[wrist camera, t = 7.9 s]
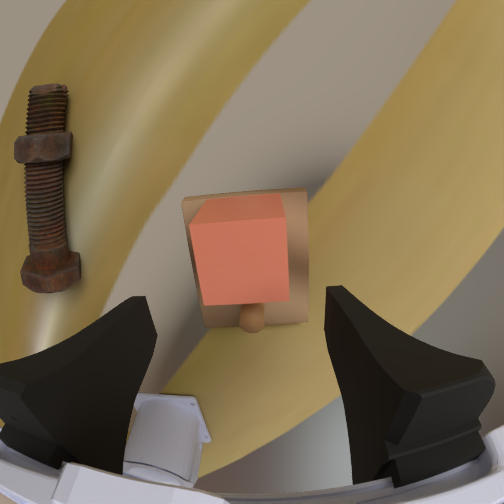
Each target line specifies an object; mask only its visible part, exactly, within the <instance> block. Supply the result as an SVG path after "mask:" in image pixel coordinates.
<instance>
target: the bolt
mask: <svg viewBox="0 0 504 504" xmlns="http://www.w3.org/2000/svg"><path fill="white" fill-rule="evenodd" d="M67 92H68V90H67V86H66V85H60V84H46V85H38V86H34V87H33V88H32V89H31V90H30V91H29V93H31V94H29V95H28V97H29V99H28V101H29V102H30V103H28V104H27V105H28V106H29V108H27V110H28V111H29V112H28V113H26V114H27V115H28V117H27V118H26V119H27V120H28V121H27V122H26V124H27V125H28V126H26V127H25V128H26V129H27V131H26V132H25V133H26V134H27V135H25V136H19V137H18V138H17V139H16V141H15V143H14V159H15V160H16V161H17V162H18V163H25V164H24V165H25V166H26V167H25V170H26V172H25V173H24V174H25V175H27V176H26V177H25V178H24V179H26V181H25V182H24V183H25V184H27V185H26V186H25V188H26V189H27V190H26V191H25V193H27V194H26V195H25V197H26V198H27V199H26V200H25V201H26V202H27V204H26V207H27V208H26V211H28V212H27V216H28V217H27V220H28V221H27V224H28V232H29V242H30V243H29V249H30V255H29V256H27V257H26V259H25V261H24V264H23V266H22V269H21V271H20V273H21V278H22V283H23V285H24V286H26V287H27V288H28V289H30V290H32V291H34V292H36V293H54V292H61V291H64V290H66V289H69V288H70V287H72V286H73V285H74V284H76V283H77V282H78V281H79V280H80V278H81V264H80V254H79V253H78V252H72V251H69V250H68V241H67V238H66V234H65V233H66V231H65V222H64V221H65V218H64V216H65V215H64V214H63V213H64V210H63V209H64V206H63V204H64V201H62V200H63V199H64V197H63V195H64V193H63V192H62V191H63V190H64V189H63V188H62V187H63V183H62V182H63V179H62V177H63V175H62V173H63V170H61V169H62V168H63V166H62V164H63V163H64V162H62V161H61V160H62V159H66V158H69V157H70V156H71V153H72V138H73V135H72V132H64V130H63V128H64V127H65V126H64V125H63V124H64V123H65V121H63V120H64V119H65V117H64V115H65V114H66V113H65V112H64V111H65V110H66V108H65V106H66V105H67V104H66V103H65V102H66V101H67V100H68V99H66V97H67V96H68V95H67V94H66V93H67Z"/></svg>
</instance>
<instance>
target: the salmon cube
mask: <svg viewBox="0 0 504 504" xmlns="http://www.w3.org/2000/svg"><path fill="white" fill-rule="evenodd" d="M189 228H190V234H191V240H192V245H193V251H194V257H195V262H196V267H197V273H198V278H199V283H200V288H201V293H202V298H203V303H204V306H207V305H230V304H250V303H267V302H282V301H290V298H289V271H288V249H287V229H286V216H285V212H284V207H283V203H282V199H281V195H280V193H276V194H262V195H249V196H237V197H226V198H215V199H207V200H206V201H205V203H204V204H203V206H202V207H201V208H200V210H199V211H198V213H197V214H196V216H195V217H194V218H193V220H192V221H191V223H190V224H189Z"/></svg>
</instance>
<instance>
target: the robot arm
mask: <svg viewBox="0 0 504 504" xmlns="http://www.w3.org/2000/svg"><path fill="white" fill-rule="evenodd" d="M324 331H325V337H326V343H327V348H328V352H329V356H330V359H331V362H332V365H333V369H334V372H335V375H336V378H337V382H338V385H339V388H340V391H341V395H342V399H343V403H344V409H345V416H346V422H347V428H348V437H349V445H350V454H351V465H352V480H353V485H350V486H344V487H338V488H331V489H323V490H315V491H305V492H293V493H274V494H231V493H212V492H206V491H203V490H200V489H194V488H193V486H194V484H195V483H196V481H197V478H198V472H199V466H200V460H201V454H202V447H203V442H211V436H210V434H209V431H208V429H207V426H206V423H205V421H204V418H203V415H202V413H201V410H200V407H199V404H198V402H197V399H196V398H195V397H193V396H177V395H162V394H150V393H140V392H138V391H139V388H140V386H141V383H142V381H143V379H144V376H145V373H146V371H147V368H148V366H149V363H150V361H151V358H152V356H153V352H154V348H155V344H156V339H157V333H156V329H155V326H154V324H153V320H152V317H151V314H150V310H149V307H148V304H147V300H146V297H145V296H133V297H130V298H128V299H127V300H125V301H124V302H122V303H121V304H119V305H118V306H116V307H115V308H113V309H112V310H111V311H109V312H108V313H106V314H105V315H104V316H102V317H101V318H99V319H98V320H96V321H95V322H93V323H92V324H90V325H89V326H87V327H86V328H84V329H83V330H81V331H80V332H78V333H77V334H75V335H73V336H72V337H70V338H68V339H66V340H64V341H62V342H61V343H59V344H57V345H54V346H52V347H50V348H48V349H45V350H43V351H41V352H38V353H36V354H33V355H30V356H27V357H24V358H21V359H18V360H14V361H10V362H5V363H1V364H0V418H1V419H2V420H3V422H4V423H5V425H4V426H3V428H1V427H0V492H1V493H3V494H4V495H5V496H7V497H9V498H10V499H12V500H13V501H15V502H17V503H18V504H503V503H504V425H502V426H500V427H498V428H496V429H494V430H492V431H490V432H489V433H487V434H486V435H484V436H483V437H482V438H481V436H480V434H479V432H478V431H479V430H480V429H481V424H480V421H479V419H478V417H479V416H480V414H481V413H482V411H483V410H484V408H485V407H486V405H487V404H488V402H489V401H490V399H491V397H492V395H493V393H494V388H495V380H494V378H493V376H492V375H491V373H490V372H489V370H488V369H487V368H486V366H485V364H484V363H483V362H482V360H478V359H474V358H470V357H465V356H461V355H457V354H454V353H450V352H448V351H445V350H442V349H439V348H436V347H434V346H431V345H429V344H427V343H424V342H422V341H420V340H418V339H416V338H414V337H412V336H410V335H408V334H406V333H404V332H403V331H401V330H399V329H397V328H396V327H394V326H393V325H391V324H390V323H388V322H387V321H385V320H384V319H382V318H381V317H380V316H378V315H377V314H376V313H374V312H373V311H372V310H370V309H369V308H368V307H367V306H365V305H364V304H363V303H362V302H361V301H359V300H358V299H357V298H356V297H355V296H354V295H352V294H351V293H350V292H349V291H348V290H347V289H345V288H344V287H343V286H342V285H340V286H328V287H326V304H325V323H324ZM133 406H134V407H135V409H136V411H137V412H138V413H137V415H136V418H135V421H134V424H133V427H132V429H131V432H130V435H129V438H128V441H127V444H126V439H127V433H128V428H129V423H130V418H131V414H132V410H133ZM125 446H126V447H125Z"/></svg>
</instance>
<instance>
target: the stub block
mask: <svg viewBox="0 0 504 504" xmlns="http://www.w3.org/2000/svg"><path fill="white" fill-rule="evenodd" d="M276 193H280V195H281V199H282V203H283V207H284V212H285V216H286V229H287V249H288V271H289V298H290V301H282V302H267V303H250V304H230V305H207V306H204V303H203V298H202V293H201V288H200V283H199V278H198V273H197V267H196V262H195V257H194V251H193V245H192V240H191V234H190V228H189V224H190V223H191V221H192V220H193V218H194V217H195V216H196V214H197V213H198V211H199V210H200V208H201V207H202V206H203V204H204V203H205V201H206V200H207V199H215V198H226V197H237V196H249V195H262V194H276ZM181 203H182V210H183V216H184V222H185V228H186V234H187V240H188V246H189V251H190V257H191V261H192V267H193V272H194V277H195V283H196V288H197V293H198V297H199V303H200V307H201V312H202V317H203V321H204V326H205V327H234V326H240V327H241V329H242V330H244V331H245V332H248V333H257V332H259V331H261V330H262V329H263V327H264V325H275V324H290V323H303V322H308V306H309V249H308V205H307V191H306V189H305V188H304V187H303V188H286V189H271V190H256V191H243V192H232V193H220V194H210V195H200V196H190V197H185V198H184V199H183V200H182V201H181Z"/></svg>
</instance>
